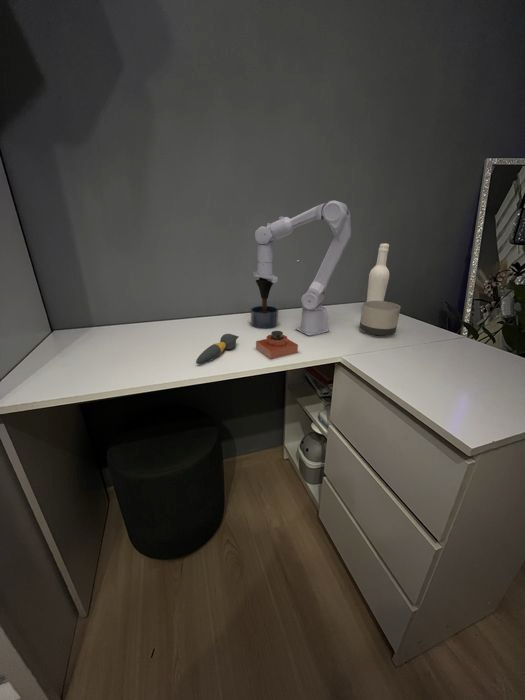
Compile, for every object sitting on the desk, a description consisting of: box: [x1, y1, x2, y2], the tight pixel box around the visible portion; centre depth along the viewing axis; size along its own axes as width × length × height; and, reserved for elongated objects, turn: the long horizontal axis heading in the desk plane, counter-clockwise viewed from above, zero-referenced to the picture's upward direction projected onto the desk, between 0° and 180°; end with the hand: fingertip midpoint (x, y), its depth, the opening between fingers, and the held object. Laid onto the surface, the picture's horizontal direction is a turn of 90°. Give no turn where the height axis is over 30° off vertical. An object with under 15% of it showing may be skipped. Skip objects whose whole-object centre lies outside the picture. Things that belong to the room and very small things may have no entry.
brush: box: [258, 298, 271, 313], centre depth 117 cm, size 6×6×10 cm
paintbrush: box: [195, 333, 240, 365], centre depth 91 cm, size 20×5×5 cm, turn 155°
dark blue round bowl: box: [250, 305, 279, 330], centre depth 118 cm, size 11×11×6 cm
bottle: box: [366, 243, 390, 301], centre depth 124 cm, size 8×8×30 cm
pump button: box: [270, 330, 284, 340], centre depth 93 cm, size 4×4×2 cm
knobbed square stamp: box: [255, 334, 299, 360], centre depth 94 cm, size 10×9×4 cm
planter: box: [358, 300, 401, 337], centre depth 109 cm, size 13×13×10 cm
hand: (264, 298), depth 115 cm, fingers closed, pressing on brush
